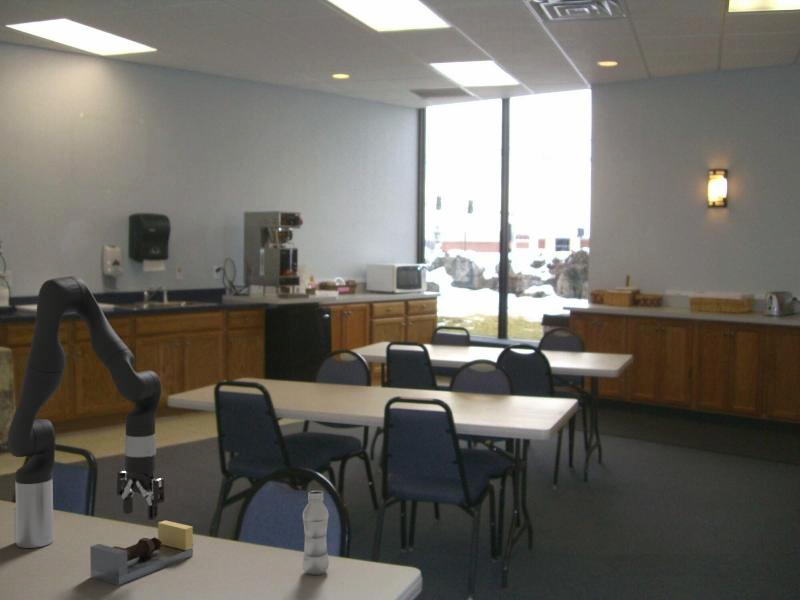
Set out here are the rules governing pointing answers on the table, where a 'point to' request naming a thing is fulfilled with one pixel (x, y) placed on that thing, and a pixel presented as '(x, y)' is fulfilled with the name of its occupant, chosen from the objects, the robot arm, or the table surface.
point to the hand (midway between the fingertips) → (140, 516)
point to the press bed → (131, 563)
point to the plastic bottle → (315, 534)
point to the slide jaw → (175, 535)
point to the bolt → (142, 548)
